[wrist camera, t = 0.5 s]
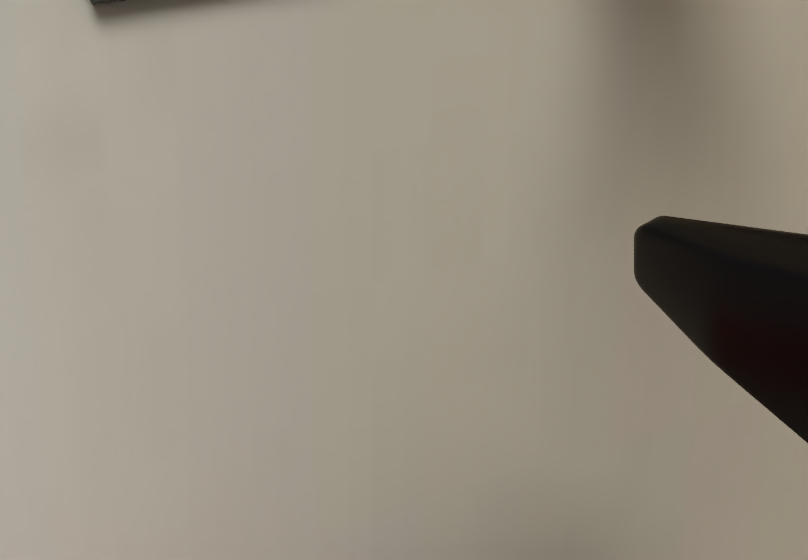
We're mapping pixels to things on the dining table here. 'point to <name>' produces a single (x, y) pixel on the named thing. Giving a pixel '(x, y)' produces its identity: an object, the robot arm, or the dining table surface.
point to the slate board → (102, 1)
